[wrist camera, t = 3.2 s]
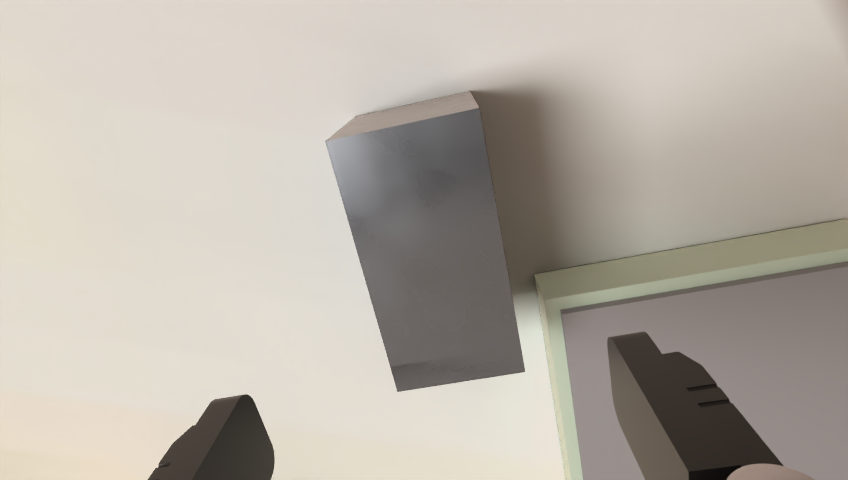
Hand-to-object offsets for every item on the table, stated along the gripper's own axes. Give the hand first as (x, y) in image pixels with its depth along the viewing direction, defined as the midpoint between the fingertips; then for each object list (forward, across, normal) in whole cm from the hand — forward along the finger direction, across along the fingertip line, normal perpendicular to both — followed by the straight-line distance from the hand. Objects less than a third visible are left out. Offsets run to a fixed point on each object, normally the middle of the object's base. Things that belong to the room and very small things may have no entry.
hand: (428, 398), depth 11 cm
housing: (+13, 0, 0) cm, 13 cm away
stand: (+13, -11, +11) cm, 20 cm away
